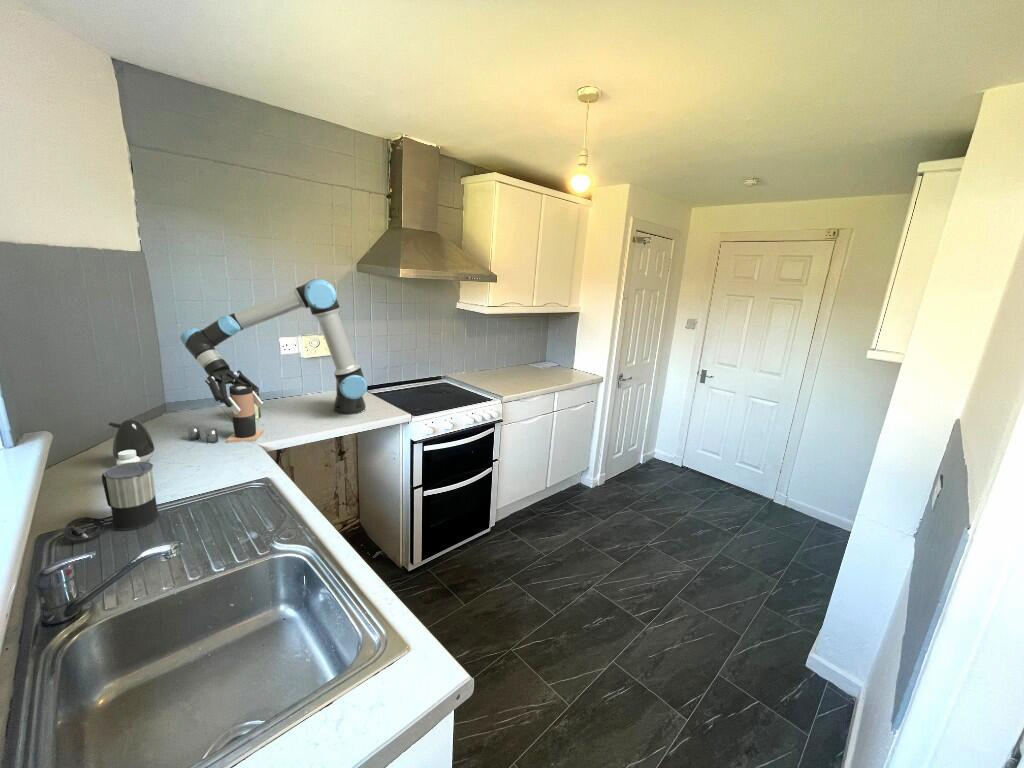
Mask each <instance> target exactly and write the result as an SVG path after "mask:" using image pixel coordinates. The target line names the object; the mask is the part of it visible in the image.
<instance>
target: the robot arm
mask: <svg viewBox="0 0 1024 768" xmlns="http://www.w3.org/2000/svg"><path fill="white" fill-rule="evenodd" d="M302 308H304V309H308V308H309V310H310V312H311V315H312V316H313V317H315V318H316V319H317V321H318V323H319V326H320V329H321V332H322V334H323V337H324V340H325V343H326V345H327V349H328V351H329V353H330V357H331V359H332V362H333V364H334V367H335V370H334V373H333V374H334V377H335V381H336V382H335V383H336V396H335V399H334V403H333V405H332V411H333V412H334V413H336V412H337V414H340V413H341V415H354V414H353V413H355V414H359V413H358V412H360V413H362V412H361V411H363V410H365V411H366V409H367V408H366V403H365V399H364V397H363V396H364V395H365V394H366V392H367V390H368V382H367V380H366V378H365V376H364V373H363V371H362V370H363V368H362V366H361V365H360V364H358V363H356V361H355V358H354V355H353V353H352V350H351V347H350V344H349V341H348V338H347V334H346V332H345V329H344V327H343V323H342V321H341V319H340V314H339V311H340V310H341V309H340V304H339V301H338V298H337V292H336V290H335V287H334V286H333V285H332V284H331V283H330V282H328V280H324V279H321V278H314V279H311V280H309V281H307V282H306V283H304V284H302V285H300V286H297V287H294V290H293V291H291V292H289V293H286V294H282V295H279V296H277V297H275V298H272V299H267V300H266V301H263V302H261V303H258V304H254V305H253V306H250V307H246V308H243V309H241V310H238V311H236V312H234V313H231V314H227V315H226V314H225V315H223V316H221V317H219V318H217V319H216V320H215V321H213V322H212V323H211V324H209V325H208V326H206V327H204V328H203V329H201V330H200V329H199V328H196V327H193V328H190V329H188V330H185V331H183V332H182V333H181V334H180V336H179V337H180V341H181V342H182V344H183V345H184V347H185V349H187V351H188V352H189V353H190V354H191V356H193V358H194V359H195V360H196V362H197V363H198V364H199V365H200V367H202V369H204V371H205V373H206V374H207V375H208V376H207V377H206V379H205V380H204V382H205V384H207V385H208V387H209V390H210V392H211V394H212V397H213V398H214V400H215V402H219V403H221V404H222V403H224V405H226V407H227V408H230V410H232V411H233V412H234V413H235V415H236V414H238V413H239V412H240V411H241V410H240V408H239V407H238V406H237V405H236V403H235V402H234V401H233V400H232V398H231V397H230V396H228V393H227V390H228V389H227V385H229V384H231V386H232V385H236V384H250V385H252V389H253V398H254V403H255V404H256V405H257V407H258V408H259V407H260V408H261V407H262V406H263V404H264V402H263V401H262V400H261V398H260V395H259V396H258V394H257V393H256V392H255V390H256V389H257V387H258V386H257V385H256V384H255V383H253V382H252V381H251V380H250V379H249V378H247V377H246V376H245V375H244V374H243V373H242V372H241V370H239V369H238V370H237V371H232V370H231V368H230V365H229V364H228V363H227V362H226V360H225V359H224V358H223V356H222V355H221V354H220V353H219V352H218V351H217V349H216V348H215V347H216V346H218V345H220V344H221V343H223V342H225V341H226V340H228V339H229V338H231V337H232V336H235V335H236V334H237V333H238V332H241V331H244V330H246V329H248V328H251V327H253V326H256V325H258V324H261V323H264V322H267V321H270V320H273V319H275V318H278V317H280V316H283V315H286V314H289V313H291V312H294V311H296V310H299V309H302ZM365 408H366V409H365ZM363 412H364V411H363Z"/></svg>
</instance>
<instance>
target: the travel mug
mask: <svg viewBox="0 0 1024 768" xmlns="http://www.w3.org/2000/svg"><path fill="white" fill-rule="evenodd" d="M228 391H229V397H231V398H232V400H233V401H234V402H235V403H236V405H237V406H238V407H239V408H240V410H241V411H240V412H239V413H238V414H236V415H235V413H234V412H233V411H232V410H231V409H230V410H231V418H232V427H233V433H235V437H237V438H248V437H252V436H254V435H255V434H256V430H257V427H256V426H257V424H256V423H257V421H256V422H255V408H254V398H253V389H252V385H250V384H236V385H232V384H231V385H230V386H229V390H228Z"/></svg>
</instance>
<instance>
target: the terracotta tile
mask: <svg viewBox="0 0 1024 768" xmlns="http://www.w3.org/2000/svg"><path fill="white" fill-rule="evenodd" d="M264 433H265V430H262V429H259V430H258V429H256V434H255V435H254V436H252V437H248V438H237V437H235V433H234V432H233V433H232V434H231V435H230V436H229V437H228V438H226V442H225V443H242V442H241V441H256V440H257V439H258V438H259V437H261V436H263V434H264ZM259 439H260V438H259ZM259 439H258V440H259ZM258 440H257V441H258ZM257 441H256V442H257Z"/></svg>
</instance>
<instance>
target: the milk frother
mask: <svg viewBox="0 0 1024 768" xmlns="http://www.w3.org/2000/svg"><path fill="white" fill-rule="evenodd" d="M153 468H154V465H153V463H151V462H149V461H147V462H130V463H123V464H121V465H115V466H114V465H113V466H112V467H109V468H108V469H106V470H105V471H104V472H103V473H102V475H101V481H102V486H103V489H104V494H105V499H106V503H107V506H108V507H110V508H111V517H112V520H107V519H102V518H98V517H92V516H91V517H89V516H84V517H78V518H75V519H72V520H71V521H69V522H68V523H67V524H66V525H65V526H64V528H63V533H62V535H63V537H64V539H65V540H67V541H68V542H72V543H82V542H86V541H91V540H92V539H96V538H97V537H99V536H100V535H101V534H102V533H103V532H104V530H105V524H104V523H105V522H106V523H112V524H111V527H112V529H114V530H117V531H130V530H137V529H139V528H140V529H141V528H143V527H146V526H149V525H151V524H152V523H154V522H156V521H157V520H158V519H159V517H160V512H159V510H158V504H157V499H156V498H157V497H156V491H155V490H156V489H155V482H154V475H153V474H154V473H153ZM82 524H93V525H95V527H96V528H97V529H96V530H95V531H94V532H92V533H91V534H88V529H83V528H80V527H77V525H82ZM87 534H88V535H87Z"/></svg>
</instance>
